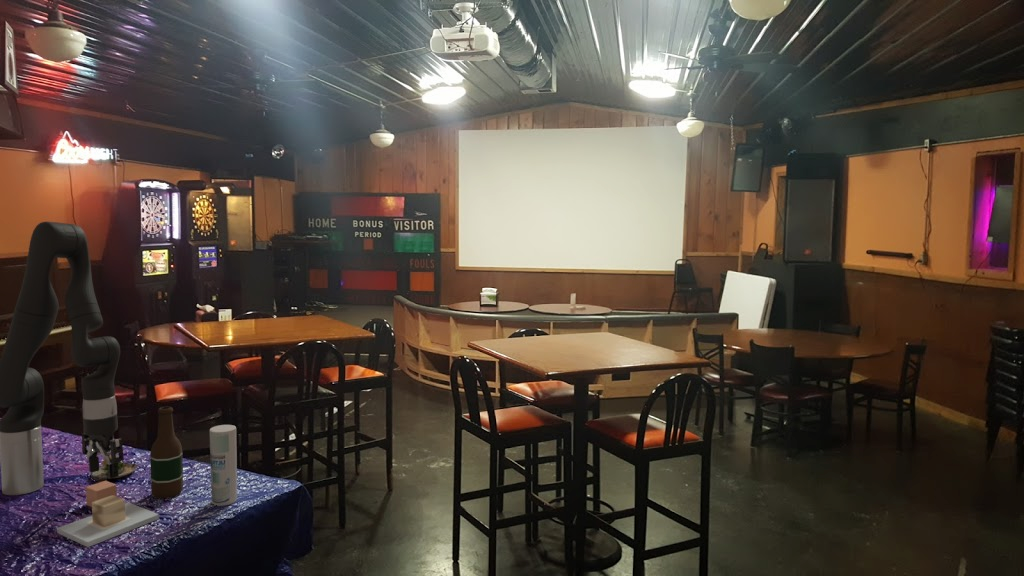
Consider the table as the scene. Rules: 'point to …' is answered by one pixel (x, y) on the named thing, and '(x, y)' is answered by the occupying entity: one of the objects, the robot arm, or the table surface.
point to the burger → (103, 470)
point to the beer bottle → (166, 458)
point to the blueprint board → (94, 533)
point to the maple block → (108, 510)
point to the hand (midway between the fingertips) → (103, 474)
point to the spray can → (223, 464)
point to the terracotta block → (100, 491)
